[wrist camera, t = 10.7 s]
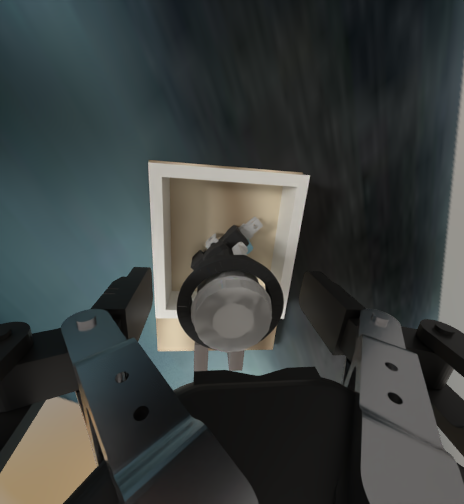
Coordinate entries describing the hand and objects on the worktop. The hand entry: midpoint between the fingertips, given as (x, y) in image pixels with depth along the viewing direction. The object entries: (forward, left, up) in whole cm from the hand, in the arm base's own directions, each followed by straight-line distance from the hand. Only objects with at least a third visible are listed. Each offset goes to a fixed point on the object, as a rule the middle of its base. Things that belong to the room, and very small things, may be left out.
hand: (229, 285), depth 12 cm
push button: (+1, 0, -8) cm, 8 cm away
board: (0, -3, -9) cm, 10 cm away
